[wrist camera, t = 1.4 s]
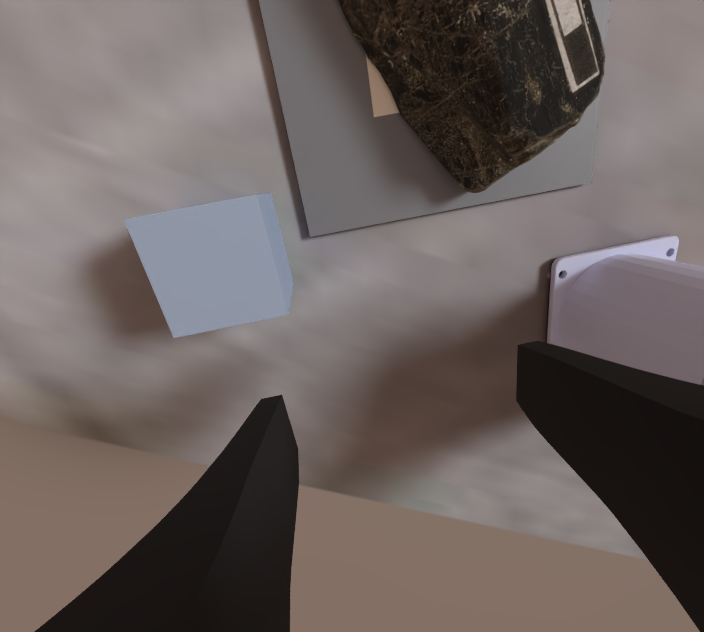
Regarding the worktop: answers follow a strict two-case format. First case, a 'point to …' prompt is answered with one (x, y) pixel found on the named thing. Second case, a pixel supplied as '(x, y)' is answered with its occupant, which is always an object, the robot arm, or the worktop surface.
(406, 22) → the rock
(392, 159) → the letter board
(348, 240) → the worktop surface
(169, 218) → the gray cube
